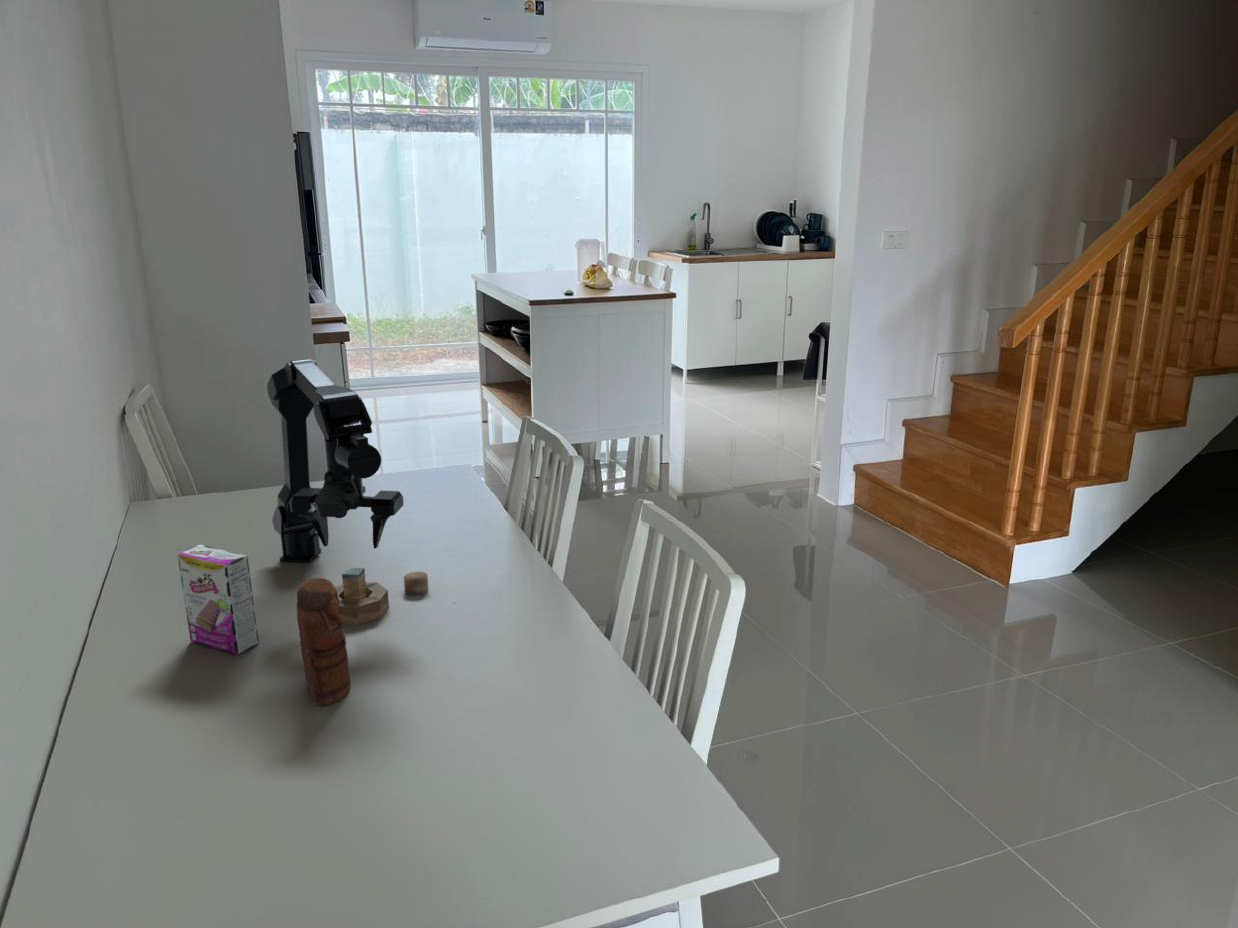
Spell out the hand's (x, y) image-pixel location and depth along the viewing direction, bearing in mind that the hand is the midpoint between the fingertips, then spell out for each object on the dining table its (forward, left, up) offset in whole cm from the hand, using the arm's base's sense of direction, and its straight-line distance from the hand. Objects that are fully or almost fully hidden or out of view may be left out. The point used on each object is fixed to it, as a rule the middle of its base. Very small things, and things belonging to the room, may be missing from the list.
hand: (350, 546), depth 169 cm
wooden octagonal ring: (+1, -1, -12) cm, 12 cm away
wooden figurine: (+6, -27, -13) cm, 30 cm away
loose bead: (+9, +9, -12) cm, 18 cm away
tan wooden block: (0, -1, -12) cm, 12 cm away
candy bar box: (-17, -15, -13) cm, 26 cm away
